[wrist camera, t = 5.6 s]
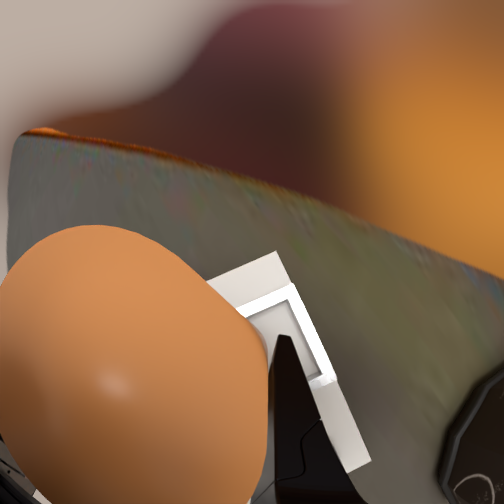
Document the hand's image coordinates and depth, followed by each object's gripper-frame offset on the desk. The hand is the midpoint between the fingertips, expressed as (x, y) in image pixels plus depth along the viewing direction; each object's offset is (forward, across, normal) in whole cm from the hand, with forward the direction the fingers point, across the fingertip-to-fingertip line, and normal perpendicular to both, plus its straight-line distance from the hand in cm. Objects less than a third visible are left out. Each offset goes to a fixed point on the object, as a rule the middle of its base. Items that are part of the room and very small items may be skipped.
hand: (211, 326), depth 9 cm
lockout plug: (+4, 0, +6) cm, 7 cm away
